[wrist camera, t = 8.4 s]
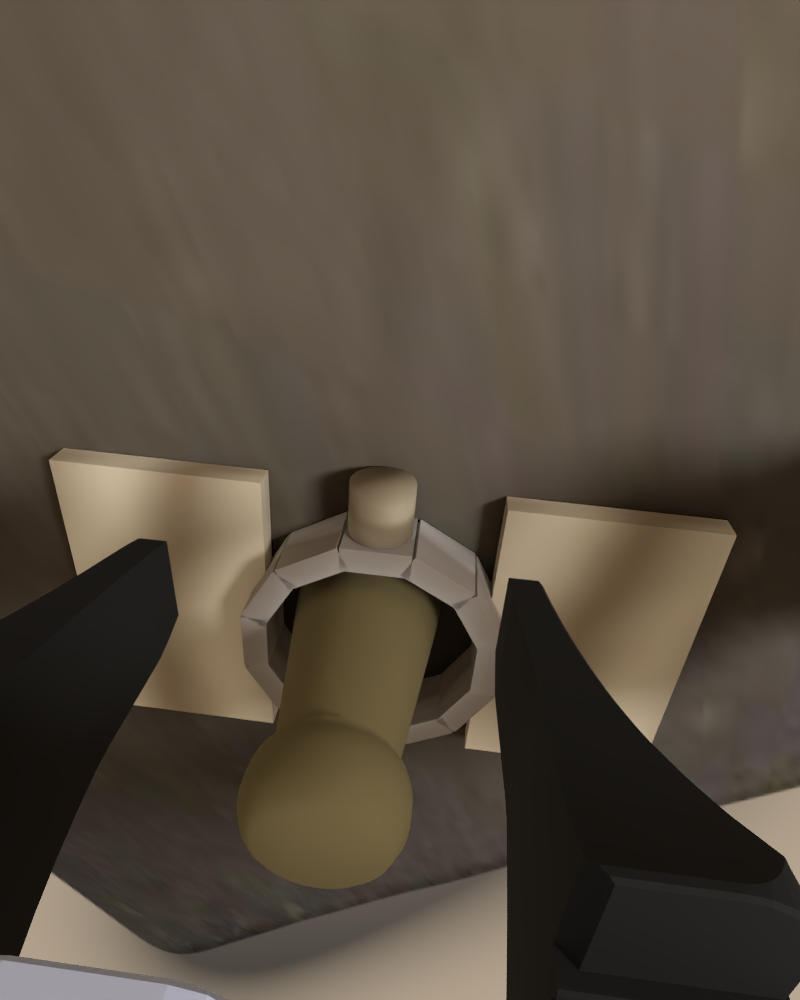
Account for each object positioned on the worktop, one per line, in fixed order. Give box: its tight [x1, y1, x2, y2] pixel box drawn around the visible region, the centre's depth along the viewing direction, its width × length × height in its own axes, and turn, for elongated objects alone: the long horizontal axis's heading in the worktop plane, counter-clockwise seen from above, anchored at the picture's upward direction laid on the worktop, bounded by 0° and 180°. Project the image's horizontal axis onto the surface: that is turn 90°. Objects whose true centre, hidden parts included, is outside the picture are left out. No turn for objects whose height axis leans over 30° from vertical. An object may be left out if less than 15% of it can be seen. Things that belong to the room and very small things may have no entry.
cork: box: [237, 571, 441, 889], centre depth 22 cm, size 6×6×11 cm
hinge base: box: [49, 448, 737, 753], centre depth 26 cm, size 25×14×2 cm, turn 86°
